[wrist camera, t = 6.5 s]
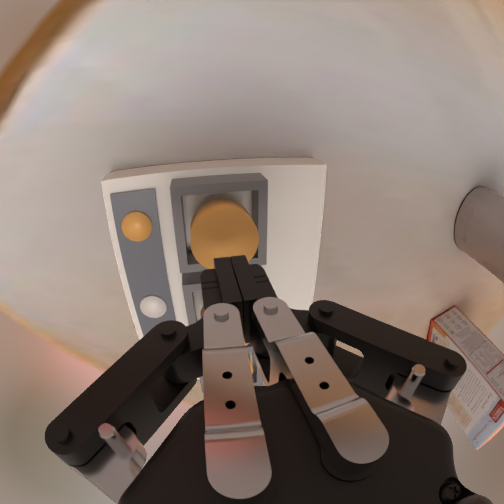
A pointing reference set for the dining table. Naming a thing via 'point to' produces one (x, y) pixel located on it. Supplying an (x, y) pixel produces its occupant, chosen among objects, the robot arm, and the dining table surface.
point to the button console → (178, 231)
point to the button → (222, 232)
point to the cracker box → (473, 376)
